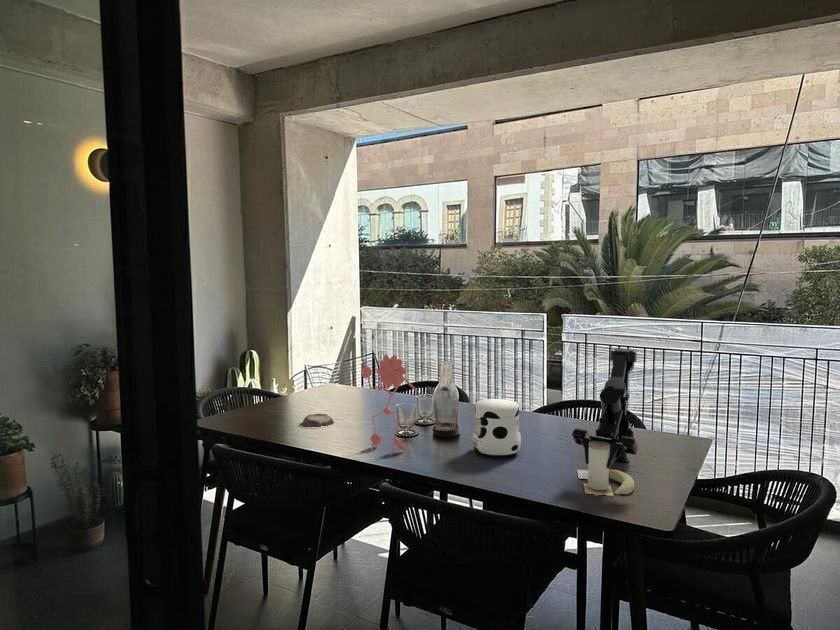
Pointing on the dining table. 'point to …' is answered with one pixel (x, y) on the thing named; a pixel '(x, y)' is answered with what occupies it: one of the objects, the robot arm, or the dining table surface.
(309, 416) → the quiche
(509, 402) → the milk container
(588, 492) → the cork coaster
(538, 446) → the dining table surface
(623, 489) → the fruit
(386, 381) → the pink blossom sprig
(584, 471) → the grey square tile
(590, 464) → the tumbler
